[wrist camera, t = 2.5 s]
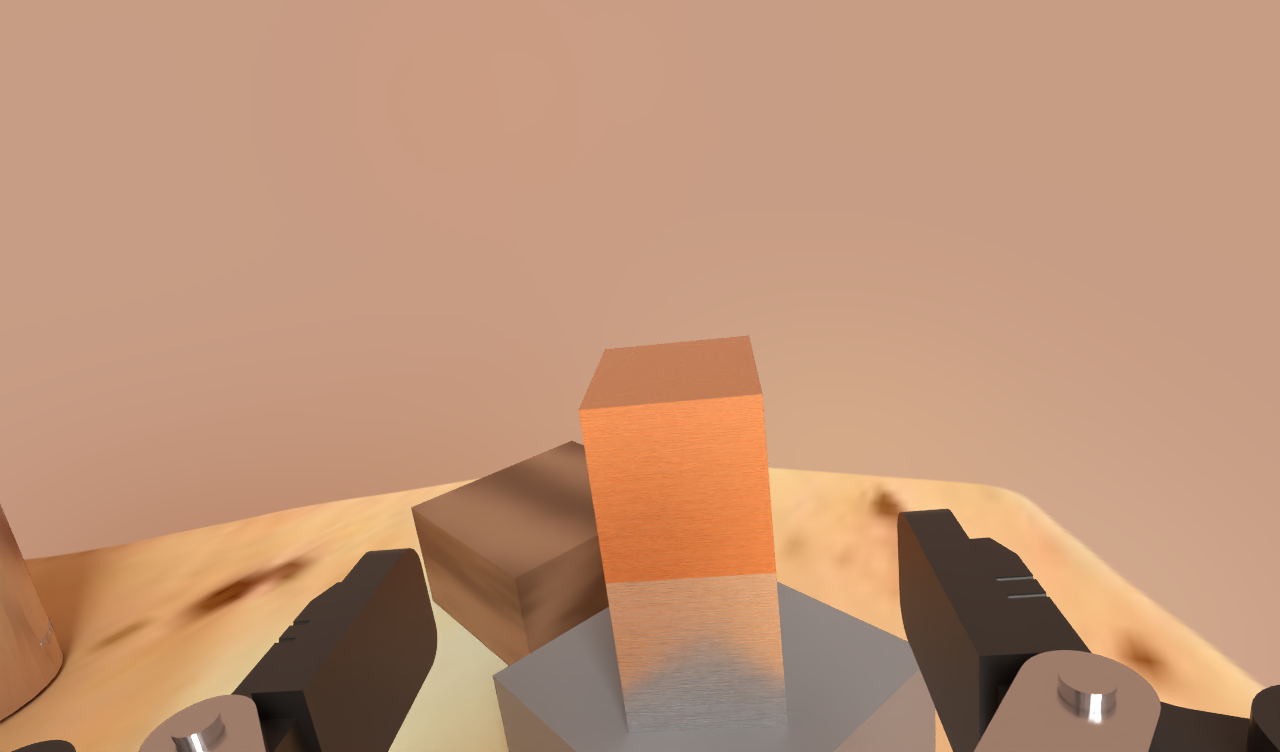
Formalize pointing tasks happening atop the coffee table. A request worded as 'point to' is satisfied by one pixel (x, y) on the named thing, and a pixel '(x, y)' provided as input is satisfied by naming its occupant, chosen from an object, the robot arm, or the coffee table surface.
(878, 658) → the stand
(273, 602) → the coffee table surface
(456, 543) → the stand
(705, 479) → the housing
